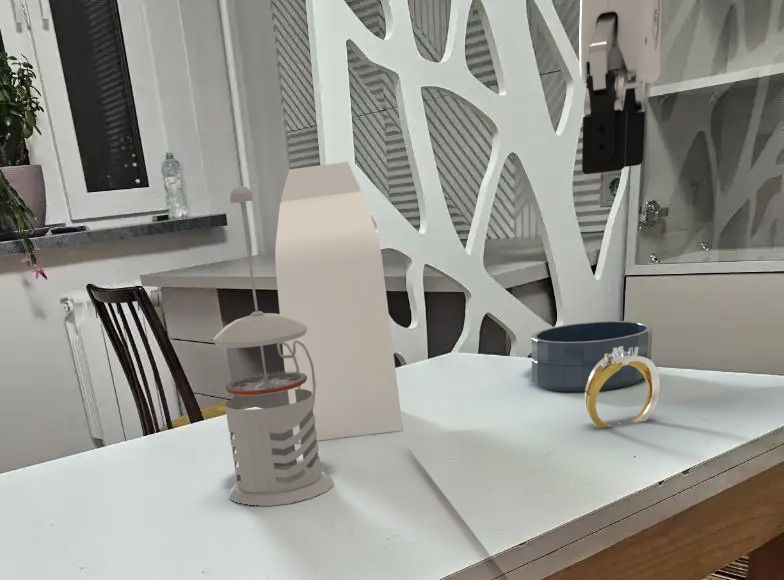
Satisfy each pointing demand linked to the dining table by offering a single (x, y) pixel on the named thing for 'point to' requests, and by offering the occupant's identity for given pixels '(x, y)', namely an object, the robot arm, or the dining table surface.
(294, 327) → the french press
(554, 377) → the bowl
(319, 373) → the milk
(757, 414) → the dining table surface
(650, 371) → the ring
